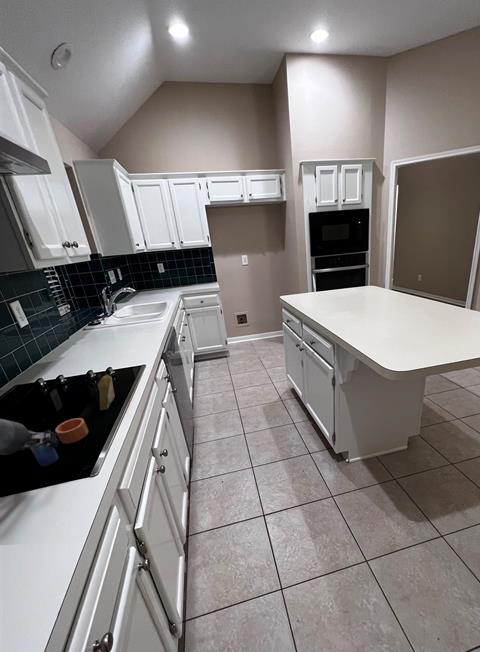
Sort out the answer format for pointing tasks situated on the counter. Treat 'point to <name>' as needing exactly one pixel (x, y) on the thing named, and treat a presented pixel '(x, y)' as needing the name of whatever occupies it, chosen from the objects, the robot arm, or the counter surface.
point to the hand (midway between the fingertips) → (46, 444)
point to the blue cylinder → (45, 454)
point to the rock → (106, 392)
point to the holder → (72, 430)
